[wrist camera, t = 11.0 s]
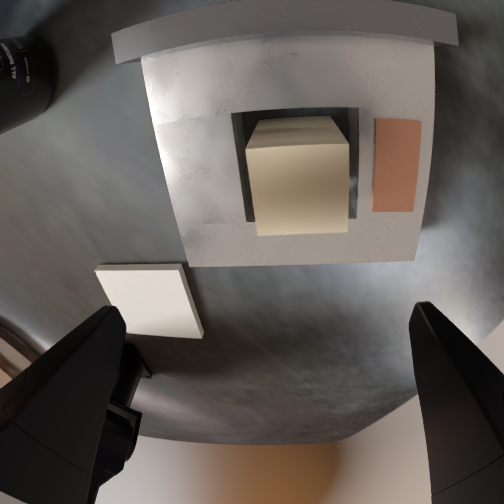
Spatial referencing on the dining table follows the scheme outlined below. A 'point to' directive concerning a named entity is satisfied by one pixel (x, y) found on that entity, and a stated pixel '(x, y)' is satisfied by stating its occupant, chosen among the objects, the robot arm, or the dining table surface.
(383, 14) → the plate
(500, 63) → the dining table surface
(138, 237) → the dining table surface
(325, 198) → the birch peg
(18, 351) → the plant saucer
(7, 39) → the supplement bottle
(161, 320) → the white square tile
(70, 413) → the robot arm
